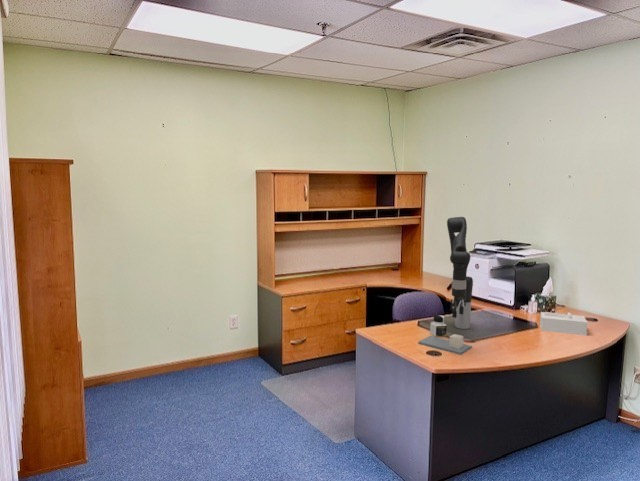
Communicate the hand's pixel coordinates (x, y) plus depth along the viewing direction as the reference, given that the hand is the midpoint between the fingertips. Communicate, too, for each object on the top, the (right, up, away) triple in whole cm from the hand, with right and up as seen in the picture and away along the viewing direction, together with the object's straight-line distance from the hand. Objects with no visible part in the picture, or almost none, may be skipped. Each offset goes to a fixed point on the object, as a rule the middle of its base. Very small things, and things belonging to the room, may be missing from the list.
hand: (457, 315), depth 264 cm
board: (-5, -18, +7) cm, 20 cm away
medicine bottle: (-4, -16, +26) cm, 31 cm away
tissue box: (+77, -15, +38) cm, 88 cm away
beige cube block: (0, -18, +2) cm, 18 cm away
